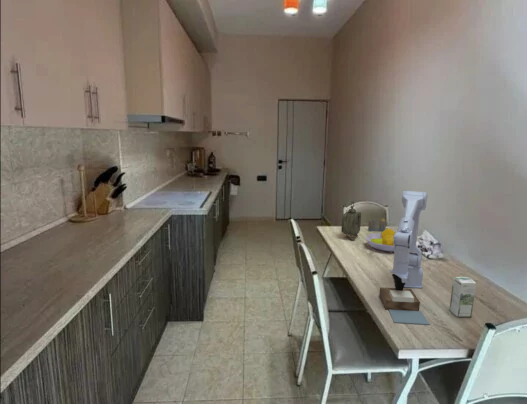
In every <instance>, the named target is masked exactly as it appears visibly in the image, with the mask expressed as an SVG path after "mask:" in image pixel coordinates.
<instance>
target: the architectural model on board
mask: <svg viewBox="0 0 527 404" xmlns="http://www.w3.org/2000/svg"><path fill="white" fill-rule="evenodd" d="M386 224H387V223H386V219H385V217H384V218H383V217H382V218H381V220H371V221H370V220H368V229H367V231H368V232H383V231H384V230H385V229H386Z"/></svg>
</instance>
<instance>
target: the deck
mask: <svg viewBox="0 0 527 404" xmlns="http://www.w3.org/2000/svg"><path fill="white" fill-rule="evenodd" d="M390 290H395V287H379V292H378V293H379V295H378V297H379V298H380V301H381V303H382V306H383V308H384V310H387V311H389V310H407V311H420V306H421V305H420V304H421V301H420V300H419V298H418V297H417V295H416V294H415V292H414V291H413V289H412V288H403V291H410V292H411V294H412V295H413V297H414V302H396V301H392V299H391V297H390V295H389V291H390Z"/></svg>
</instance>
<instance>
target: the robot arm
mask: <svg viewBox="0 0 527 404" xmlns="http://www.w3.org/2000/svg"><path fill="white" fill-rule="evenodd" d="M401 203H402V205H403V208H404V214H403V217H401V218H400V220H399V224H398V227H397V231H396V232H395V234H394V239H393V243H394V252H393V253H394V254H393V268H392V269H390V270H389V273H390V274H391V276H392V278H393V283H394V288H395V290H399V291H403V289H405V288H411V289H412V288H413V289H414V288H415V289H423V279H424V278H423V276H424V271H423V268H422V262H423V261H422V260H423V255H422V254H423V252H422V249H420V248H419V247H418V246H417V242H418V233H419V232H418V231H419V223H420V215H421V212H422V211H425V210H426V208H427V204H428V193H427V192H426V191H414V190H404V191H402V194H401Z"/></svg>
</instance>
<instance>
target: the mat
mask: <svg viewBox="0 0 527 404" xmlns="http://www.w3.org/2000/svg"><path fill="white" fill-rule="evenodd" d="M388 313H389V315H390V316H391V318H392V320H393V323H394V324H402V325H403V324H405V325H406V324H407V325H424V326H430V322H429V321H428V319H427V318H426V316H425V314H424V313H423V311H421V310H419V311H407V310H388Z"/></svg>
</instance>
